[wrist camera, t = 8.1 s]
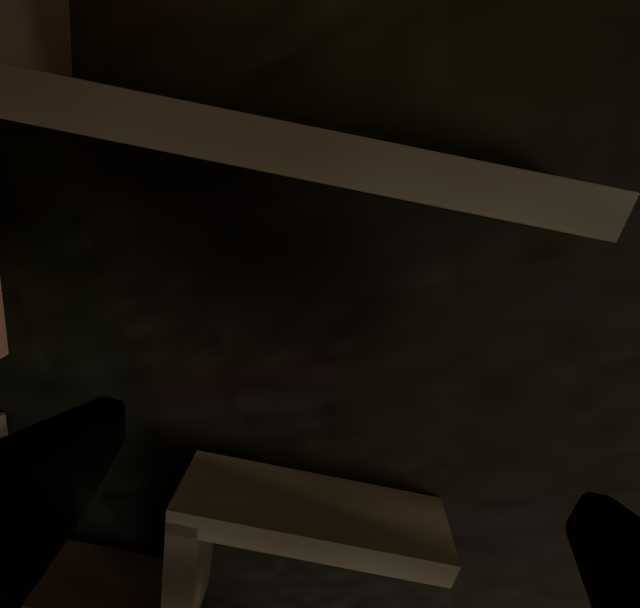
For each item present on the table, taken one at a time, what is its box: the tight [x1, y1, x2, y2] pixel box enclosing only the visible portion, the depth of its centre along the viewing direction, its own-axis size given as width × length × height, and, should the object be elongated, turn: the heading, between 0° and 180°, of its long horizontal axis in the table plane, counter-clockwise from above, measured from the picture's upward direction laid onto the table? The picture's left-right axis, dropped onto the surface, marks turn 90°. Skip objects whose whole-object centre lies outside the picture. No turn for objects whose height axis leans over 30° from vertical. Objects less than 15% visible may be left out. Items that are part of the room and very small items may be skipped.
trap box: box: [0, 0, 640, 608], centre depth 10 cm, size 24×23×3 cm
